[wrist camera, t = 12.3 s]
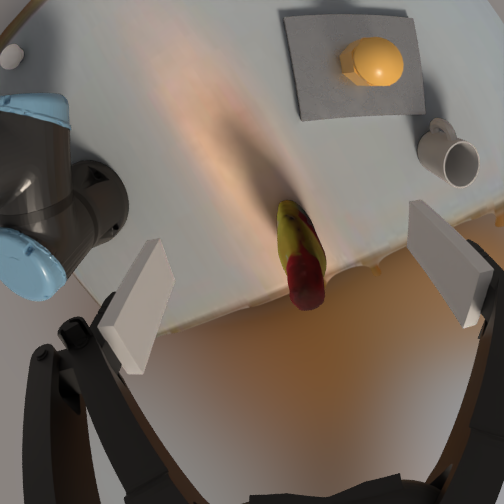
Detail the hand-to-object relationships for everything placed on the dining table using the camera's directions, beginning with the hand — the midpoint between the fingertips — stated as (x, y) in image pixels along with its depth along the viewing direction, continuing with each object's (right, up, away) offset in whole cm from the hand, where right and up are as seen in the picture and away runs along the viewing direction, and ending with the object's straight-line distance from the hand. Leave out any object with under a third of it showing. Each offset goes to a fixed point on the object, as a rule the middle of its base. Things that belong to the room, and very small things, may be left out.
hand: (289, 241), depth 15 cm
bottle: (+5, +4, +36) cm, 36 cm away
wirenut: (+14, +26, +20) cm, 36 cm away
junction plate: (+14, +27, +22) cm, 37 cm away
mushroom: (-44, +35, +19) cm, 59 cm away
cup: (+28, +18, +27) cm, 43 cm away
